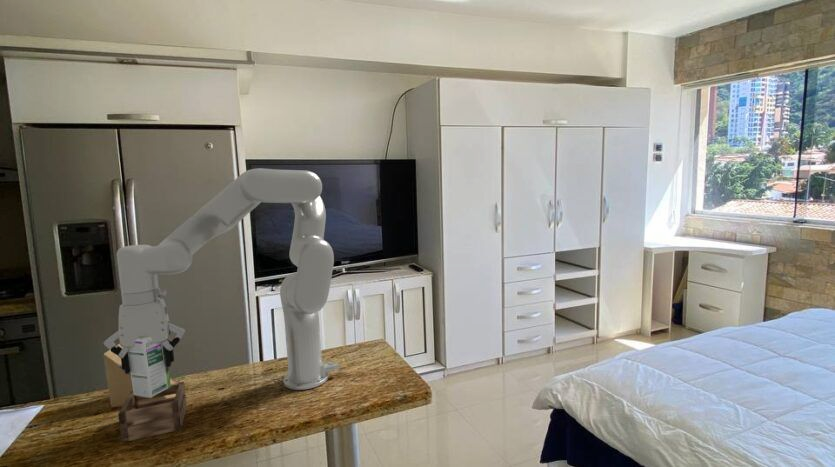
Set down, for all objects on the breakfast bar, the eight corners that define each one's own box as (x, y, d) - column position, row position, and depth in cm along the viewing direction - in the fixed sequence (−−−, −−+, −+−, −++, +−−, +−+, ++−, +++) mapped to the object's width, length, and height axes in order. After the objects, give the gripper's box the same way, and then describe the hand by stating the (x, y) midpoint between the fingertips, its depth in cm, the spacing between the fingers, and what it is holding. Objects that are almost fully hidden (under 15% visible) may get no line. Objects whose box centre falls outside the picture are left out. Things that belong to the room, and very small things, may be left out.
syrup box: (150, 398, 104) (143, 339, 102) (132, 395, 105) (125, 337, 104) (171, 387, 109) (165, 330, 107) (153, 384, 111) (146, 329, 109)
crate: (186, 406, 116) (183, 381, 115) (181, 429, 105) (178, 402, 104) (133, 416, 112) (130, 391, 111) (122, 442, 101) (118, 414, 100)
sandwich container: (171, 401, 119) (165, 348, 117) (110, 408, 117) (102, 354, 115) (183, 387, 128) (177, 337, 126) (126, 392, 126) (120, 342, 124)
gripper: (184, 289, 111) (191, 356, 113) (101, 298, 105) (110, 369, 107) (180, 296, 104) (188, 367, 106) (92, 306, 98) (101, 381, 100)
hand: (149, 367), depth 106 cm, fingers closed on syrup box, 8 cm apart
